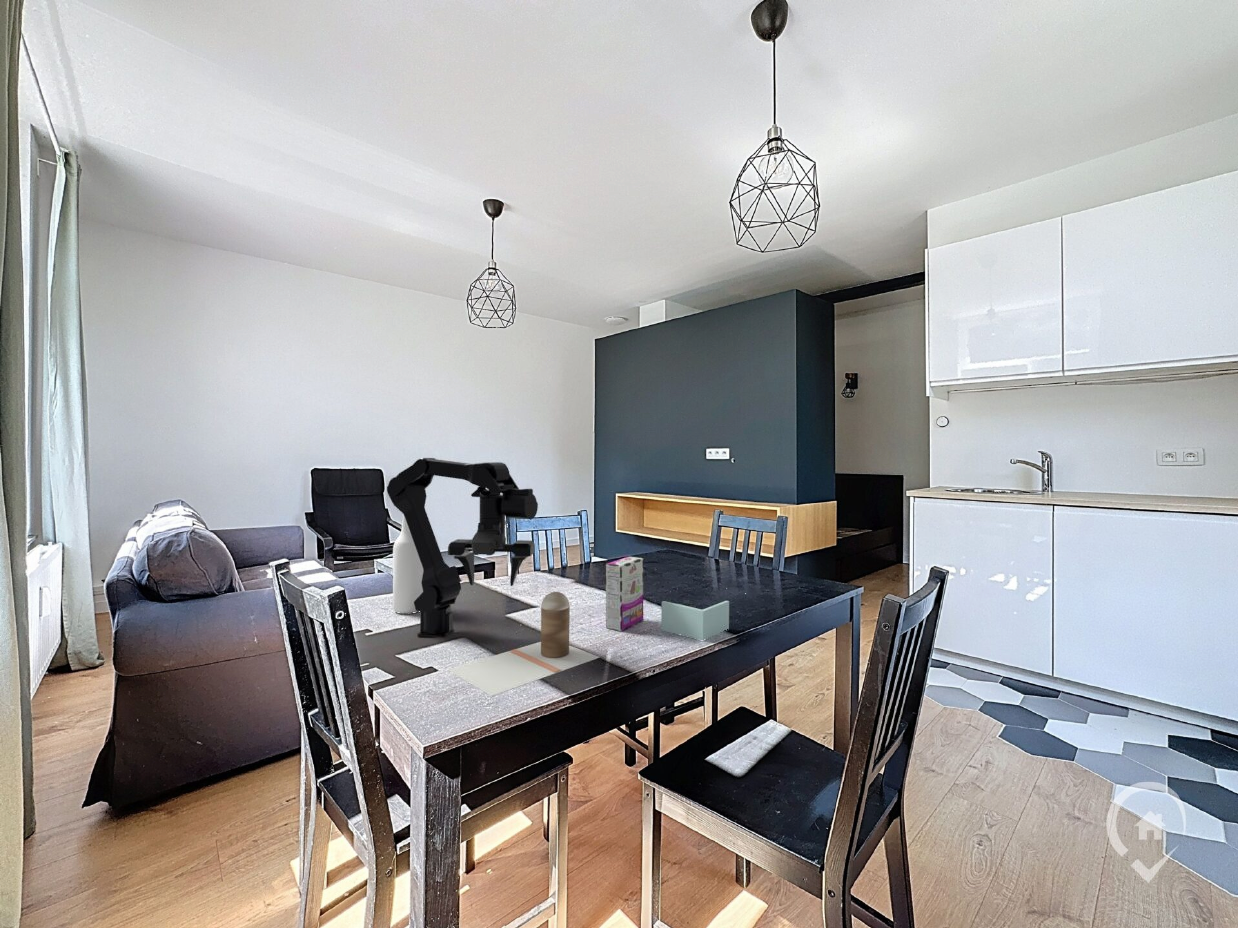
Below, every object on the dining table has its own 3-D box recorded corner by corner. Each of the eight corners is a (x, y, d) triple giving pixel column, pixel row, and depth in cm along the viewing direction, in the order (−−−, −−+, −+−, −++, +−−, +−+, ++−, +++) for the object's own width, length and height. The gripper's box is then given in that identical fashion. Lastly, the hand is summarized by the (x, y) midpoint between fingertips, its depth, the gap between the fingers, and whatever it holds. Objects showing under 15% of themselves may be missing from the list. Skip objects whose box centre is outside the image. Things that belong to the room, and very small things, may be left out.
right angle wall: (728, 631, 135) (729, 601, 135) (702, 643, 126) (703, 611, 126) (688, 621, 143) (688, 592, 142) (661, 631, 134) (661, 601, 133)
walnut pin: (544, 659, 111) (545, 597, 111) (538, 649, 117) (538, 589, 116) (572, 655, 113) (573, 594, 113) (564, 645, 119) (565, 587, 119)
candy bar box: (627, 617, 144) (628, 555, 143) (643, 620, 141) (644, 557, 141) (604, 628, 134) (604, 562, 134) (621, 632, 131) (622, 565, 131)
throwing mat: (491, 700, 94) (491, 694, 94) (446, 673, 106) (447, 668, 106) (599, 660, 113) (599, 656, 113) (551, 641, 124) (551, 637, 124)
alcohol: (393, 616, 142) (393, 502, 142) (392, 607, 150) (393, 499, 150) (428, 612, 146) (428, 501, 145) (426, 604, 154) (426, 499, 153)
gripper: (438, 520, 116) (438, 593, 116) (525, 522, 115) (524, 595, 115) (456, 515, 127) (456, 581, 127) (535, 516, 126) (535, 582, 126)
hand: (491, 585), depth 124 cm, fingers open, 9 cm apart
